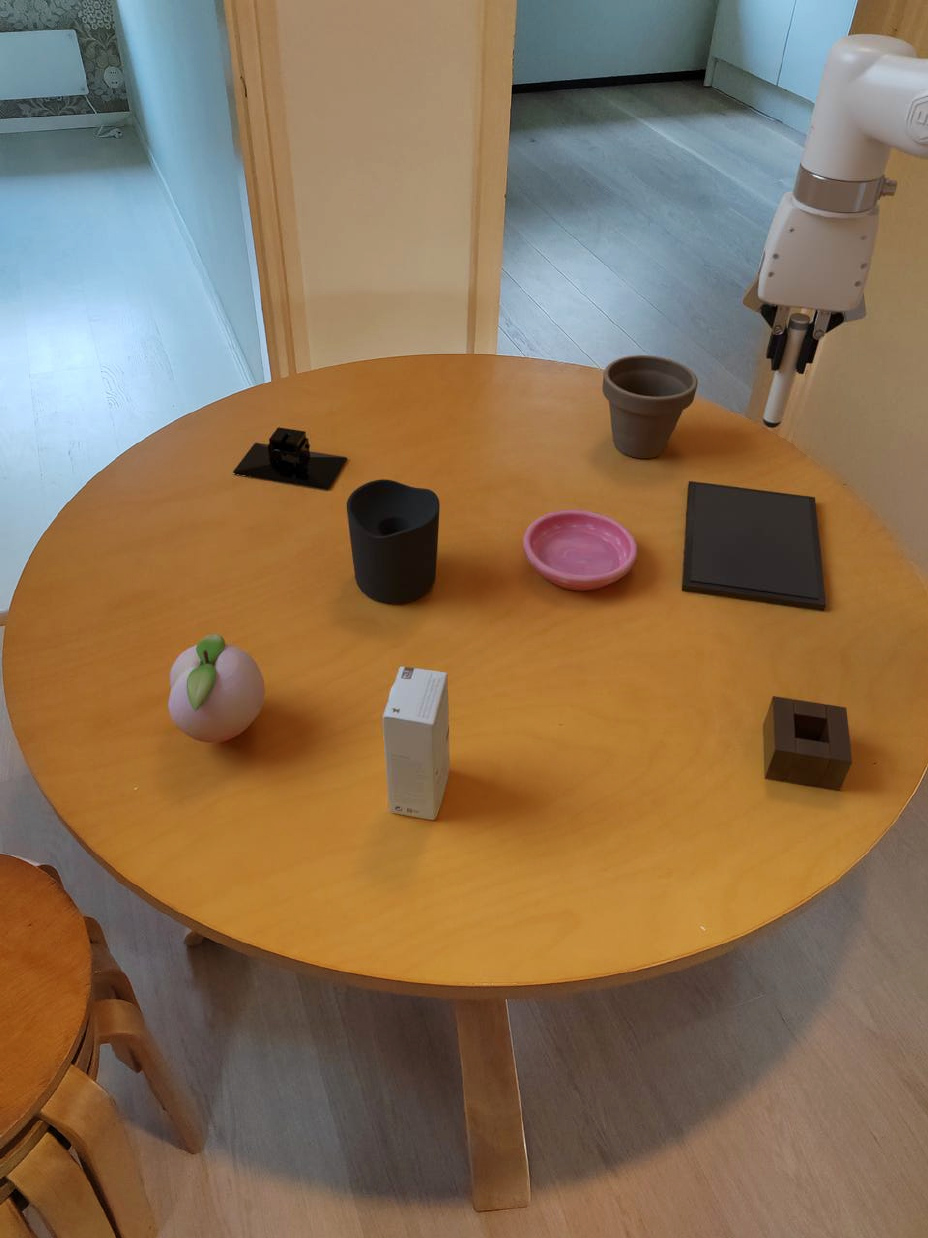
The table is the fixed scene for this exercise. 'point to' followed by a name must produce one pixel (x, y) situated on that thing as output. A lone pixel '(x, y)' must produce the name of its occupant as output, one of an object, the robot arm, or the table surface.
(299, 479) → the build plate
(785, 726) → the pen stand
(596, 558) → the saucer
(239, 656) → the decorative fruit
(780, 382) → the stylus
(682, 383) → the flower pot
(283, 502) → the table surface
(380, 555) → the pen holder
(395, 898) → the table surface
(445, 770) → the cosmetic box
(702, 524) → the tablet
